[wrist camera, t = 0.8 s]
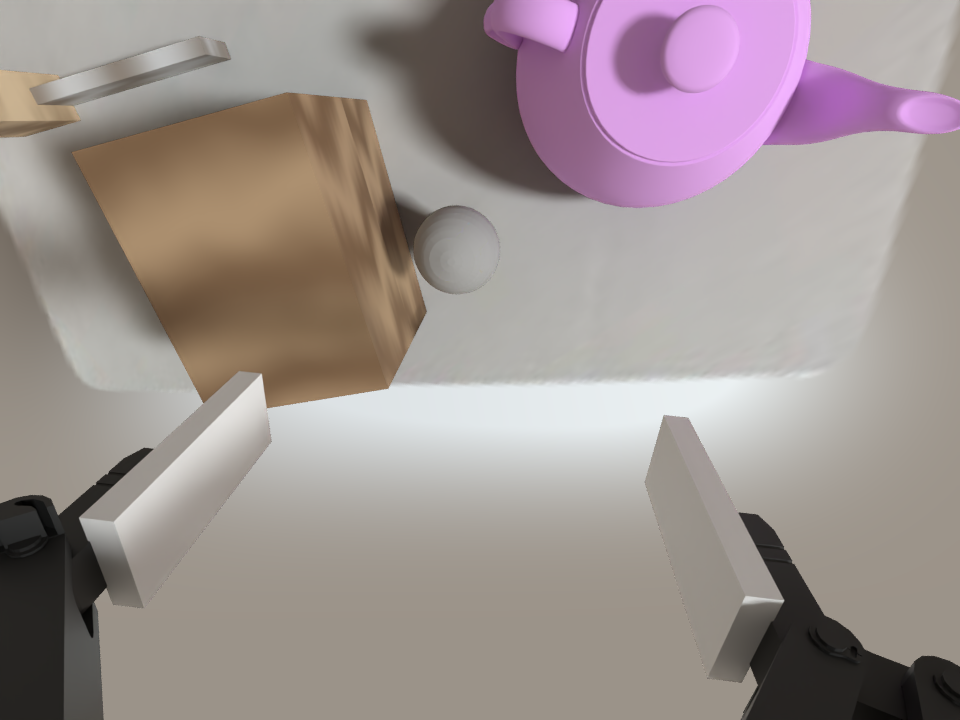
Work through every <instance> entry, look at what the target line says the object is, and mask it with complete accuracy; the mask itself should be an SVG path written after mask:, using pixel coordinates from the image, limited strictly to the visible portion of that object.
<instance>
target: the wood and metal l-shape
mask: <svg viewBox="0 0 960 720" xmlns="http://www.w3.org/2000/svg"><path fill="white" fill-rule="evenodd" d="M230 59H231V58H230V55H229V52H228V50H227V47H226V44H225V42H221V41H217V40H213V39H209V38H205V37H201V36H198V37H195V38H191V39H188V40H185V41H182V42H178V43H175V44H172V45H169V46H165V47H162V48H159V49H156V50H152V51H149V52H146V53H143V54H139V55H136V56H133V57H130V58H126V59H123V60H120V61H117V62H113V63H110V64H107V65H104V66H100V67H97V68H94V69H91V70H87V71H84V72H81V73H78V74H74V75H71V76H68V77H65V78H61V79H60V78H59V76H58V75H50V74H39V73H28V72H17V71H5V70H0V137H24V136H29V135H32V134H36V133H39V132H43V131H46V130H50V129H53V128H57V127H60V126H63V125H67V124H70V123H74V122H77V121H81V120H80V118H79V116H78V114H77V112H76V110H75V108H74V105H77V104H81V103H84V102H88V101H91V100H94V99H98V98H101V97H105V96H108V95H111V94H115V93H118V92H121V91H125V90H128V89H132V88H135V87H138V86H142V85H145V84H149V83H152V82H155V81H159V80H162V79H165V78H169V77H172V76H176V75H179V74H182V73H186V72H189V71H193V70H196V69H199V68H203V67H206V66H209V65H213V64H216V63H220V62H223V61H226V60H230Z"/></svg>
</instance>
